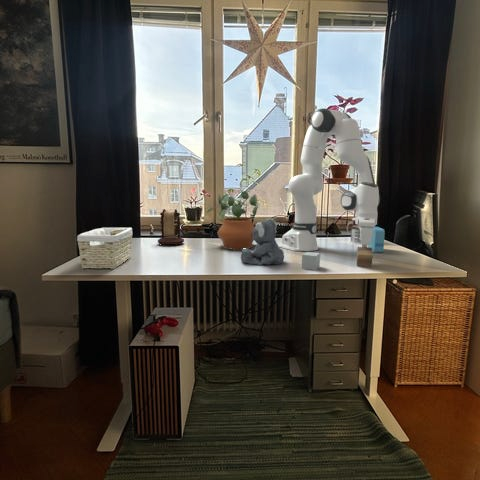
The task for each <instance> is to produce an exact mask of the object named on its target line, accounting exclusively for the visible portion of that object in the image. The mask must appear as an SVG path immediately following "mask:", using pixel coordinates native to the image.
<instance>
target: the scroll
mask: <svg viewBox="0 0 480 480" xmlns="http://www.w3.org/2000/svg"><path fill="white" fill-rule="evenodd" d="M180 215H181V213H180V212H178V210H177V208H175V209H174V210H173V211H167V210H166V209H165V208H163V209H162V212H160V222H159V223H160V225H161V226H160V231H161V237H160V238H159V239H157V243H158V244H161V245H173V244H174V245H175V246H176V245H177V246H178V244H182V243H184V242H185V239H184V238H183V237H181V224H182V223H181V221H180V220H181V218H180Z"/></svg>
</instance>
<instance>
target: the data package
mask: <svg viewBox="0 0 480 480" xmlns="http://www.w3.org/2000/svg"><path fill="white" fill-rule="evenodd" d="M385 232H386V231H385V229H384V228H381V227H379V226H375V227H373V233H372V238H371V243H370V245H367V247H368V248H372V252H373V253H377V254H378V253H382V254H383V253H384V248H385V247H384V246H385V234H386V233H385Z"/></svg>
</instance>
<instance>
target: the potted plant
mask: <svg viewBox="0 0 480 480" xmlns="http://www.w3.org/2000/svg"><path fill="white" fill-rule="evenodd" d="M240 196H241V198H238V197H237V198H234V197H233V196H232V195H229V193H225V194H224V195H223V196H222V197H221V195H220V194H218V197H217V198H218V199H217V200H218V204H219V206H220V212H219V211H218V210H216V209H215V208H216V205H215V206H213V207H211V208H210V209H208V210H207V211H206V213H209V212H211V211H213V210H215V211H216V212H217V213H219V214H218V217H219V219H223V222H222V225H221V226H220V228H219V229H218V230H217V236H218V238H219V239H220V240H221V242H222V245H223V246H224V247H226V248H225V249H227V248H232V249H231V250H243V248H248V249H250V248H249V247H251V246H252V247H253V242H254V240H253V237H252V236H251V233H252V232H253V231H254V229H255V227H256V226H254V224H253V220H252V218H249V217H241V216H242V215H243V214H246V213H247V210H248V209H250V207H248V206H249V205H250V206H252V207H253V209H252V214H253V216H256V214H257V211H258V208H259V202H258V198H257V195H256V194H255V193H254V194H253V195H252V196H249V193H248V192H247V191H241V192H240ZM242 199H244V201H243V202H242ZM248 199H249V200H248ZM247 200H248V201H249V204H248V205H245V207H244V208H242V207H243V206H244V204H245V202H246V201H247ZM230 207H231V212H229V211H228V209H230ZM246 207H248V208H247V209H246ZM227 212H228V213H230V214H232V216H231V215H229V217H227V216H226V214H228V213H227ZM224 217H225V218H224ZM224 247H223V248H224ZM252 247H251V248H252Z"/></svg>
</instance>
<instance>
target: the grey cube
mask: <svg viewBox="0 0 480 480" xmlns="http://www.w3.org/2000/svg"><path fill="white" fill-rule="evenodd" d="M320 262H321V253H319V252H311V251H304V253H302V254H301V269H303V270H305V269H306V270H313V271H317V270H318V268H320V267H321V265H320V264H321V263H320Z"/></svg>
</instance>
